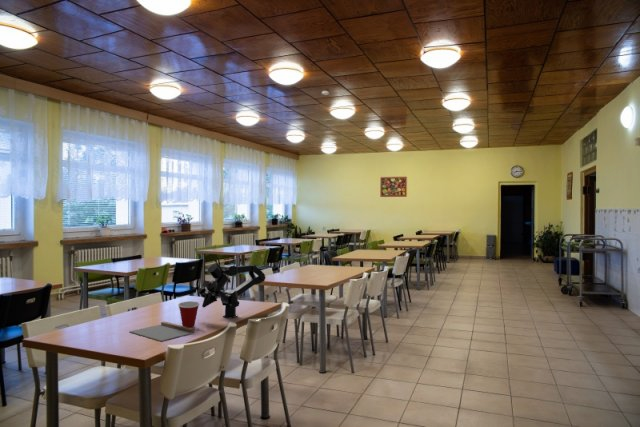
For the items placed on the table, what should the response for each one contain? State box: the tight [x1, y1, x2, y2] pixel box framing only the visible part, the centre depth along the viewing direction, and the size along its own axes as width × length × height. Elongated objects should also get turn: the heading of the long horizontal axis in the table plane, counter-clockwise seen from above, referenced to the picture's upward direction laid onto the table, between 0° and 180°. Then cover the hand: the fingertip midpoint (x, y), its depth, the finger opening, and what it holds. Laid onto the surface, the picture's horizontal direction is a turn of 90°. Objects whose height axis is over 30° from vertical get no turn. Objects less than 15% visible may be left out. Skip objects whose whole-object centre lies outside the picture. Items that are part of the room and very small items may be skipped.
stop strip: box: [160, 320, 195, 334], centre depth 223 cm, size 2×24×2 cm, turn 54°
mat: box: [128, 324, 193, 343], centre depth 215 cm, size 17×26×1 cm, turn 54°
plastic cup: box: [177, 300, 201, 328], centre depth 228 cm, size 11×11×12 cm
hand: (202, 307), depth 236 cm, fingers closed
